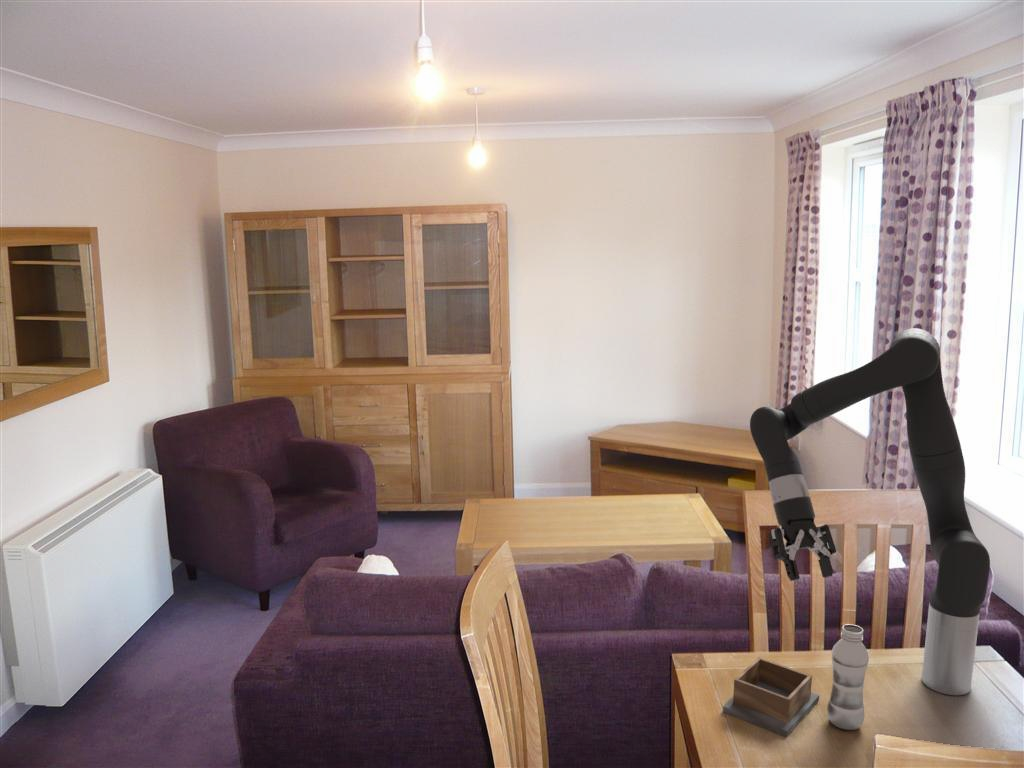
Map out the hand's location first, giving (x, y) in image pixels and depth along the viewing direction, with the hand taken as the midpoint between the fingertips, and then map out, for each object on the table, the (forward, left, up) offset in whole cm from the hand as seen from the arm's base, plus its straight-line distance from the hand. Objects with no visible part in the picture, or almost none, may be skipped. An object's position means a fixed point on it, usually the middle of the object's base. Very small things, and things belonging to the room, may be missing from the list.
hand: (811, 578), depth 174 cm
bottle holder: (+10, -2, -24) cm, 27 cm away
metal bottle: (+7, +11, -25) cm, 28 cm away
